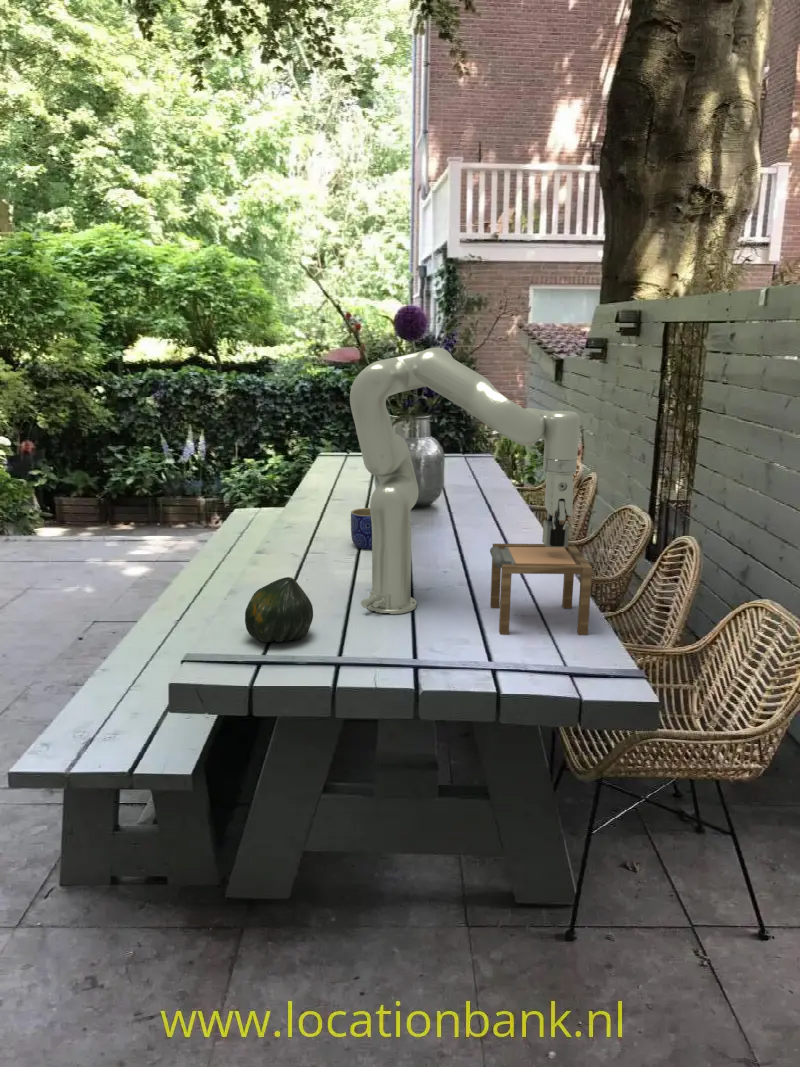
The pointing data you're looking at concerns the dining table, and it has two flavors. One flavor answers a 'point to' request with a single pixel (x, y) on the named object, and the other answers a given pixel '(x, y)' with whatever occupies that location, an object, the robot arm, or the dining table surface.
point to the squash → (279, 612)
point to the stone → (547, 532)
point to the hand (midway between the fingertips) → (554, 541)
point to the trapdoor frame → (567, 570)
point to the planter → (361, 528)
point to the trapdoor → (531, 556)
